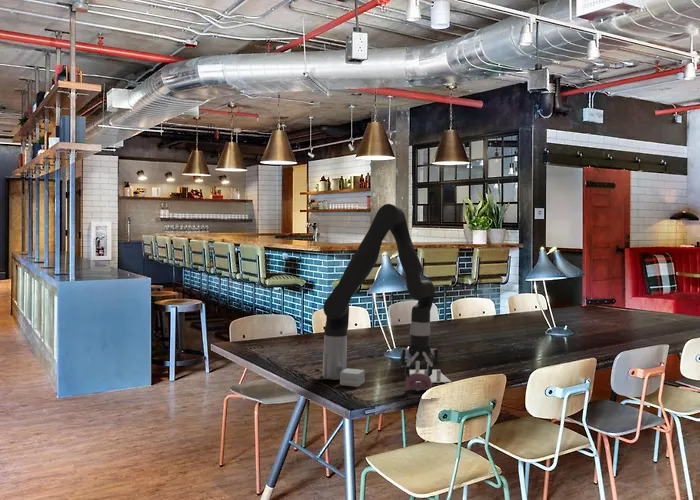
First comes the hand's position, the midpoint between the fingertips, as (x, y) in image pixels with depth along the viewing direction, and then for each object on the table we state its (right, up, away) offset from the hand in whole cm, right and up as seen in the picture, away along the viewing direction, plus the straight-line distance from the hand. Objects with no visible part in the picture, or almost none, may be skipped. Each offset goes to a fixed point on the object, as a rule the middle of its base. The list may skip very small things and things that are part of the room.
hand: (418, 375), depth 240 cm
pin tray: (+6, -4, +18) cm, 20 cm away
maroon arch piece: (0, -5, -1) cm, 5 cm away
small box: (-25, -5, +6) cm, 26 cm away
